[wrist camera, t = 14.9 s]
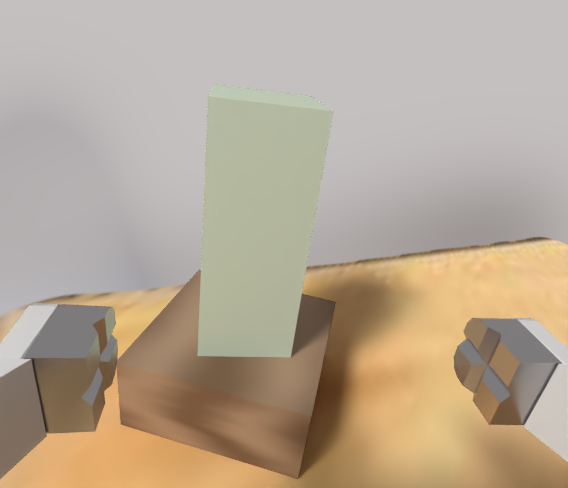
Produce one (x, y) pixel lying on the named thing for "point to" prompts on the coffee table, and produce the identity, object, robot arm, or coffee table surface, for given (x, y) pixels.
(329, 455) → the coffee table surface
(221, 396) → the walnut block
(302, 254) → the sage block
